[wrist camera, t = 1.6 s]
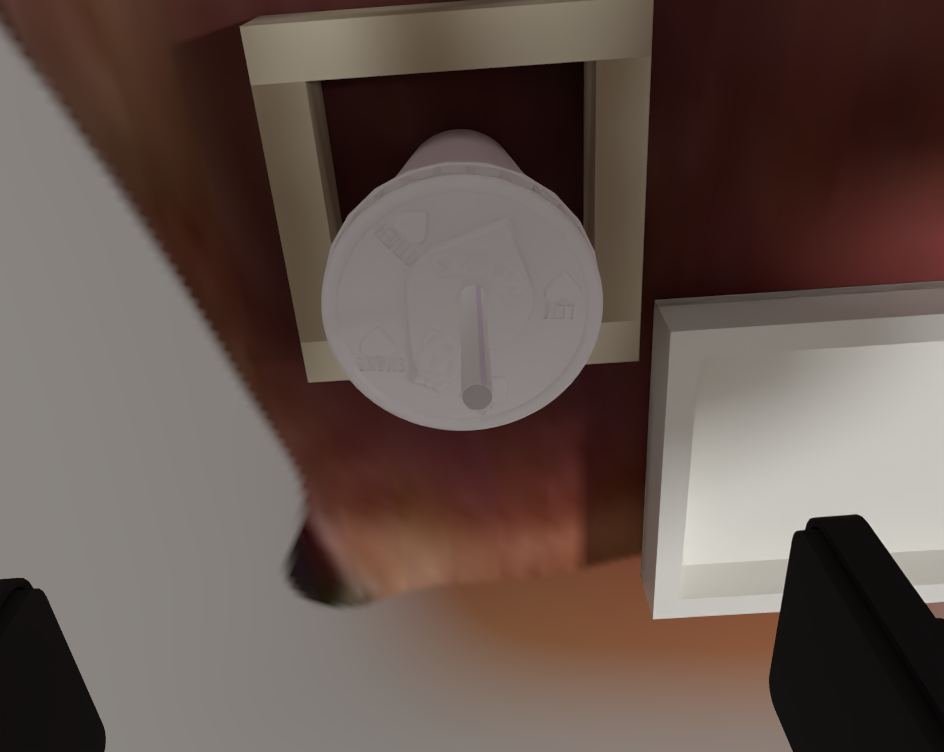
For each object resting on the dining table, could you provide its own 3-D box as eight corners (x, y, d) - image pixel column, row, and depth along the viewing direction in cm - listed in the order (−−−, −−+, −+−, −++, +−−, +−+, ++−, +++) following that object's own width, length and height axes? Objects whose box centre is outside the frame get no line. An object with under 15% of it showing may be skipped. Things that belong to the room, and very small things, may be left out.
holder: (635, -13, 24) (654, -5, 21) (625, 327, 29) (638, 360, 27) (259, 15, 24) (239, 26, 22) (319, 347, 29) (308, 382, 27)
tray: (1116, 268, 28) (1170, 298, 26) (1016, 552, 35) (1053, 595, 33) (654, 299, 29) (670, 331, 26) (640, 575, 35) (652, 619, 33)
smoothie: (594, 136, 26) (717, 339, 14) (506, 305, 29) (544, 597, 16) (406, 47, 24) (356, 185, 12) (334, 234, 27) (235, 496, 15)
